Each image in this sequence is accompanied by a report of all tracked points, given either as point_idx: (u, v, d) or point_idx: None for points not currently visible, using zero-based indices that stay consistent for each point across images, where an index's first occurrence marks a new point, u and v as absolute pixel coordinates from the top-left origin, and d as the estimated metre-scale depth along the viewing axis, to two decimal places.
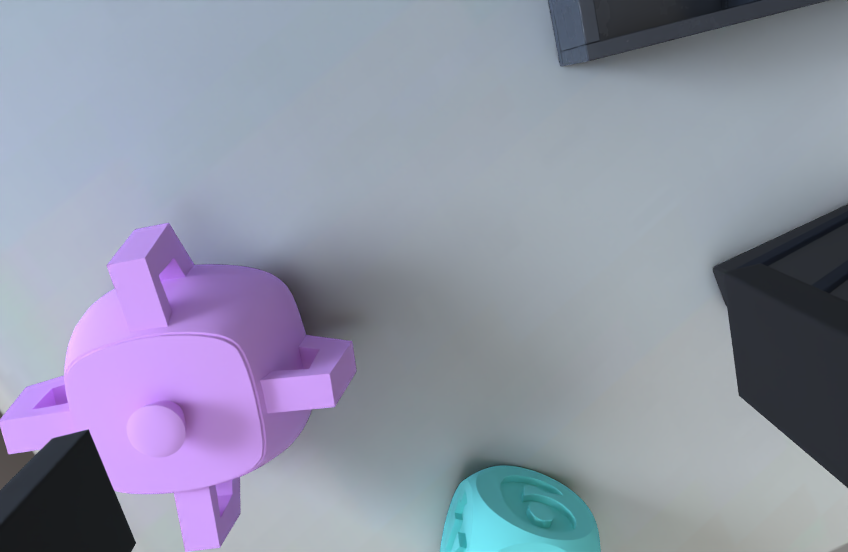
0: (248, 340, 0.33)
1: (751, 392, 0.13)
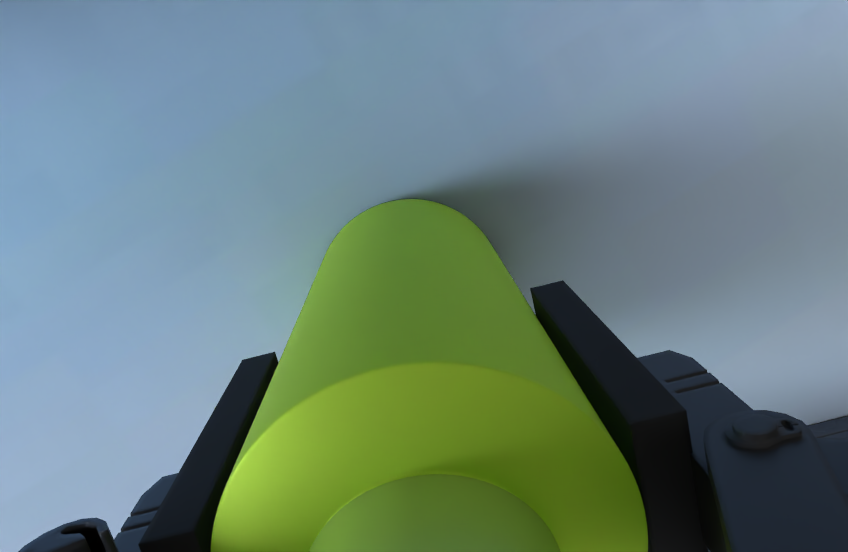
0: None
1: None
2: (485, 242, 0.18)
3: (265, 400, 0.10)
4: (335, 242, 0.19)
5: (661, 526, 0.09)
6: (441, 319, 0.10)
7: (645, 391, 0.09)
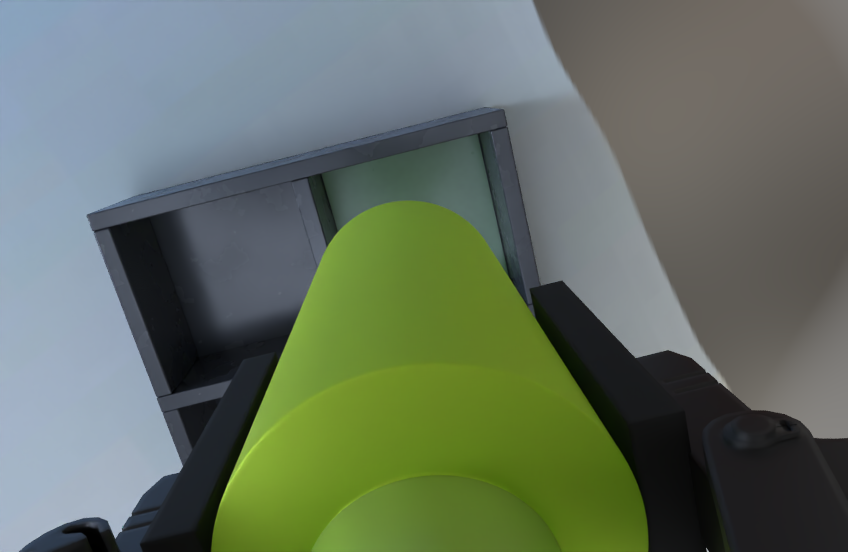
0: None
1: None
2: (483, 243, 0.18)
3: (265, 402, 0.10)
4: (332, 244, 0.19)
5: (660, 526, 0.09)
6: (441, 321, 0.10)
7: (643, 391, 0.09)
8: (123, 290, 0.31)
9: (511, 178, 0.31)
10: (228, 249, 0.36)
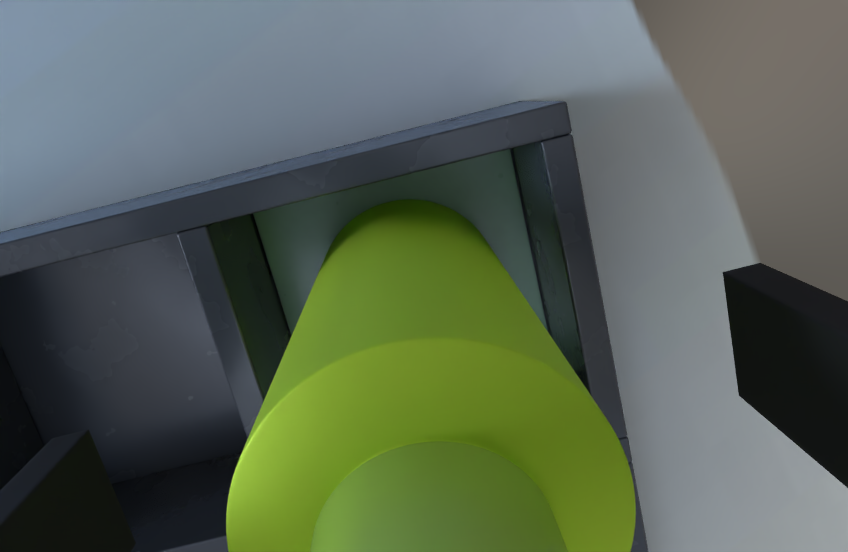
0: None
1: (751, 392, 0.13)
2: (482, 239, 0.19)
3: (275, 380, 0.11)
4: (337, 240, 0.20)
5: None
6: (441, 303, 0.10)
7: None
8: None
9: (577, 227, 0.17)
10: (104, 330, 0.22)
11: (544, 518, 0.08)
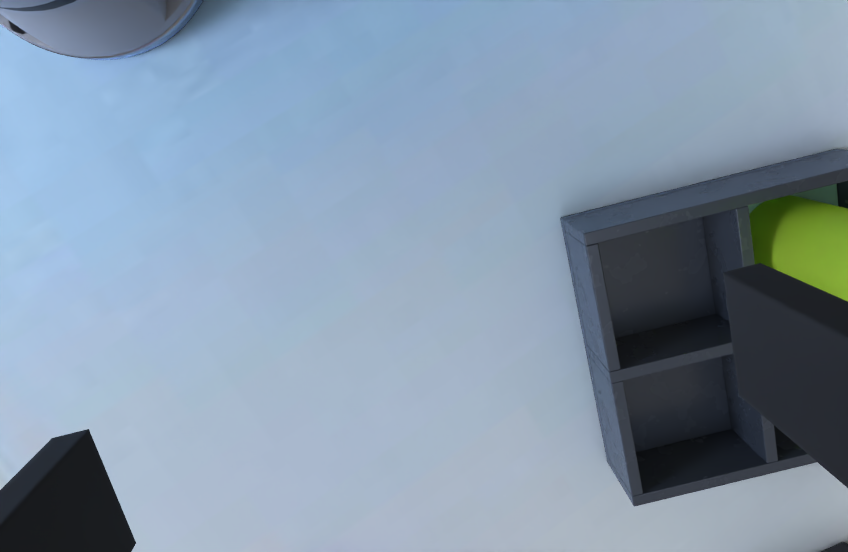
0: None
1: (751, 392, 0.13)
2: None
3: None
4: (767, 214, 0.44)
5: None
6: None
7: None
8: (600, 290, 0.42)
9: None
10: (632, 258, 0.46)
11: None
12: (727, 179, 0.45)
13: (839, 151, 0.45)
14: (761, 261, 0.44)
